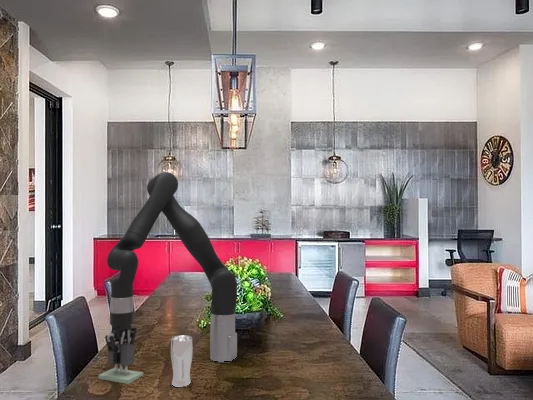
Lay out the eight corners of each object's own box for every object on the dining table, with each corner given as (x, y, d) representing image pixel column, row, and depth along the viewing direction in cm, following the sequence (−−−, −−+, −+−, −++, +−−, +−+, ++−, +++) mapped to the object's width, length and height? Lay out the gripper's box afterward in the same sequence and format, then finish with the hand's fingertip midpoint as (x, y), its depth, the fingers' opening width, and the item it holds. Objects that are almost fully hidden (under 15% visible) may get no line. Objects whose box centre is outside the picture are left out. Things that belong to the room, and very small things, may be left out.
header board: (143, 376, 166) (143, 361, 166) (128, 383, 159) (128, 369, 159) (114, 371, 171) (114, 357, 171) (98, 378, 163) (98, 364, 163)
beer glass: (193, 381, 162) (194, 335, 162) (191, 388, 155) (191, 340, 155) (172, 381, 162) (172, 335, 162) (168, 389, 155) (169, 340, 155)
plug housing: (133, 362, 165) (133, 344, 165) (126, 365, 162) (127, 347, 162) (114, 359, 168) (114, 341, 168) (107, 362, 165) (107, 344, 165)
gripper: (117, 315, 157) (116, 369, 157) (144, 307, 170) (143, 357, 170) (98, 313, 160) (97, 366, 160) (126, 305, 173) (125, 354, 173)
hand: (121, 361), depth 165 cm, fingers closed on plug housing, 3 cm apart
